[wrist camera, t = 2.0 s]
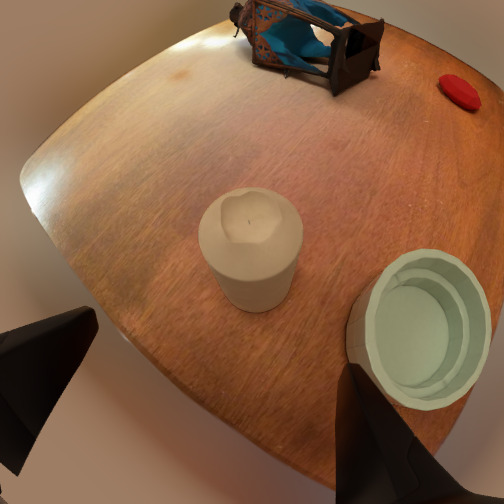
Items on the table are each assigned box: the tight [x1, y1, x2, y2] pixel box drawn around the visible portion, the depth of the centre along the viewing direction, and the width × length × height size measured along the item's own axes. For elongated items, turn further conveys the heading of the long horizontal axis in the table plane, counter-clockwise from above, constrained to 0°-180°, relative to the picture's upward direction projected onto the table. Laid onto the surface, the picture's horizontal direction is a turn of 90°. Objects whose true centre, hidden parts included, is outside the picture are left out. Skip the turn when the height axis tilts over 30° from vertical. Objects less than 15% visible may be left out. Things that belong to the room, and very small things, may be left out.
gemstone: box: [439, 74, 481, 109], centre depth 32 cm, size 9×9×3 cm
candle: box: [198, 187, 303, 313], centre depth 18 cm, size 6×6×10 cm
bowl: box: [346, 249, 492, 411], centre depth 17 cm, size 11×11×5 cm
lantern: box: [230, 0, 385, 97], centre depth 31 cm, size 16×16×25 cm
